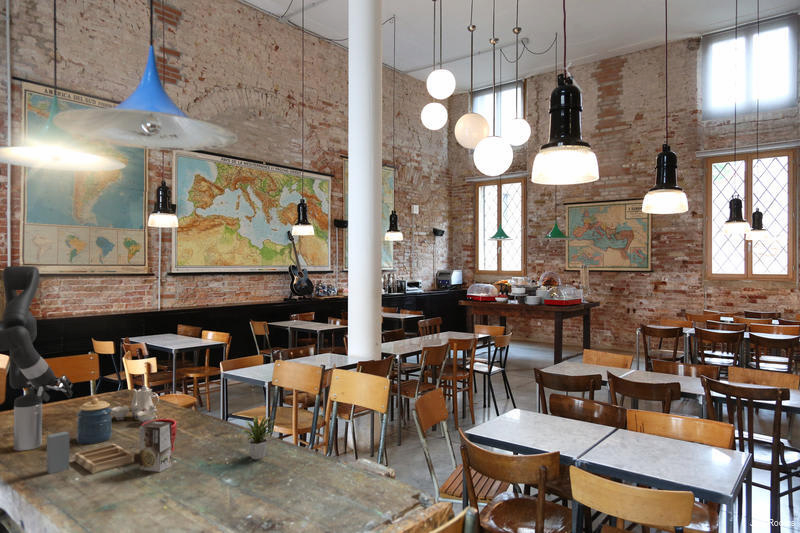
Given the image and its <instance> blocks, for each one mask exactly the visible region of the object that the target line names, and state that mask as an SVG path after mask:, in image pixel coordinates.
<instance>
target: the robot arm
mask: <svg viewBox="0 0 800 533" xmlns="http://www.w3.org/2000/svg"><path fill="white" fill-rule="evenodd" d="M40 275H41V274H40V270H39V269H38V267H36V266H32V265H31V266H30V265H27V266H26V265H24V266H23V265H20V266H19V265H11V266H10V265H9V266H6V267H4V269H3V272H2V283H3V289H4V295H5V302H6V303H5V305H6V306H5V307H4V310H3V313H2V314H3V315H2V319H1V321H0V352H5V351H9V385H10V387H11V388H12V389H13V390H18V389H27V391H28V393H26V394H23V395H20V396H18V397H16V398H14V402H13V404H14V405H13V450H14V451H18V452H19V451H29V450H33V449H37V448H40V447H41V446H42V444H43V401H44V402H45V403H46V402H49V401H50V398H51V396H50V395H49V394H48V393H47V392H46V391H49V390H55V391H61V392H63V393H64V395H65V396H66V397H67V398H68V399H69V398H71V397H72V396H73V393H74V392H73V391H72V388H73V384H74V383H73V382H72V381H71V380H70V379H69V377H68V376H67V375H65V374H63V375H61V376H60V377H58V376H56V375H55V372H54V370H53V369H52V368H51V367H50V365H49V364H48V363H47V362H46V360H45V359H44V358H43V357H42V356H41V355H40V354H39V353H38V351H37V349H35V347H34V345H33V342H34V341H35V339H36V338H37V334H38V330H37V329H38V327H37V319H36V317H35V315H34V314H33V313H32V311H30V307H31V305H32V302H33V301H34V298H35V296H36V292H37V291H38V288H39V285H40V280H41V279H40V278H41V277H40ZM17 291H21V292H20V293H19V294H18V293H17Z"/></svg>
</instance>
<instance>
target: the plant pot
mask: <svg viewBox="0 0 800 533" xmlns="http://www.w3.org/2000/svg"><path fill="white" fill-rule="evenodd" d="M152 421H158V422H169V423H172V424H171V453H172V452H174V450H175V445H174V443H175V440H176V437H177V431H178V429H177V427H178V425H177V424H178V423H177V421H176V420H174V419H170V418H169V419H168V418H157V420H156V419H153V420H152ZM148 422H150V421H148ZM148 422H145V423H142V424H141V425H144V424H146V423H148Z"/></svg>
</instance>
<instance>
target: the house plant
mask: <svg viewBox="0 0 800 533" xmlns="http://www.w3.org/2000/svg"><path fill="white" fill-rule="evenodd" d="M266 416H267V414H265V415H264V417H263V418H262V419H261V421H260V422H259V419H258V414H256V415H254V416H253V420H251V422H252V424H253V425H252V424H251V423H250V421H248V420H245V422H246V423H247V424H245V427H247V428H248V429H249V430H250V431H251V432H250V431H249V430H245V429H243V430H242V431H241V432H242V433H247V434H249V435H248V439H247V441H248V446H249V448H248V449H249V452H250V458H251V459H252V460H261V459H264V458H265V456H266V450H267V446H268V445H267V444H268V439H267V438H265V437H266V436H267V437H268V438H270V434H271V433H275V432H274V428H269V427H272V426H274V425H276V423H274V422H275V421H277V419H275V420H272V421H269V420H270V419H271V416H269V417H266ZM268 421H269V422H268Z"/></svg>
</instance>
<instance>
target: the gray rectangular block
mask: <svg viewBox="0 0 800 533" xmlns="http://www.w3.org/2000/svg"><path fill="white" fill-rule="evenodd" d="M67 470H70V433H69V432H68V431H61V432H55V433H52V434H48V435H46V472H47V473H48V475H52V474H56V473H59V472H60V473H61V472H63V471H67Z"/></svg>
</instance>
